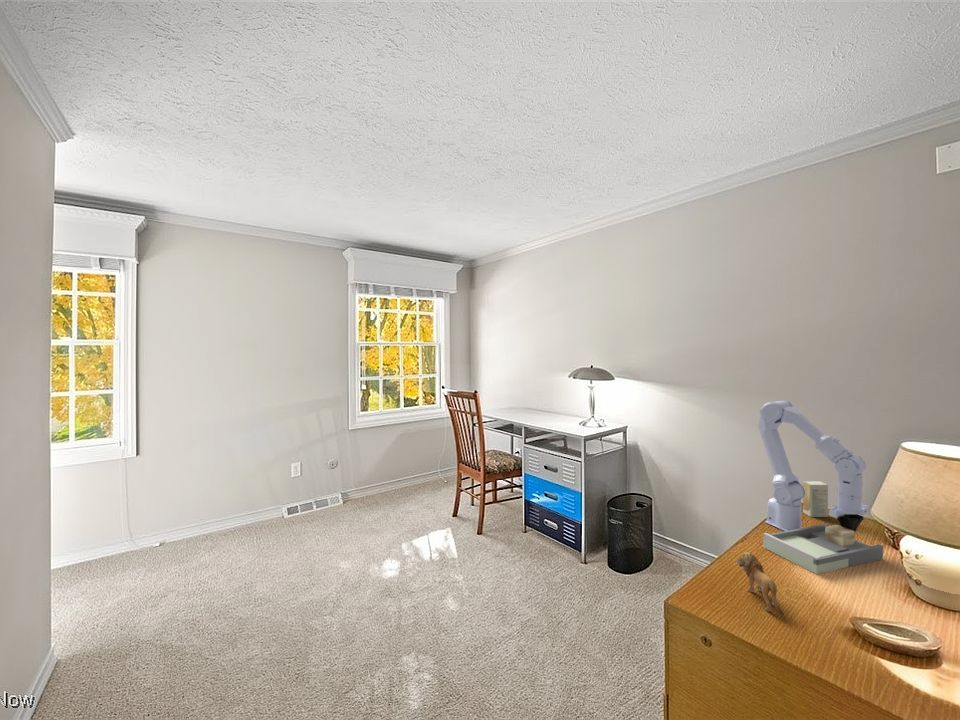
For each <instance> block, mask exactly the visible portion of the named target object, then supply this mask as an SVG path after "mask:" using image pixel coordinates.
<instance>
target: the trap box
mask: <svg viewBox="0 0 960 720" xmlns="http://www.w3.org/2000/svg"><path fill="white" fill-rule="evenodd" d="M826 526H830V525H829V524H827V523H822V524H817V525H815V524H814V525H811V526H805V527H804V528H799V529H793V530H788V531H784V530H781V531H777V532H772V533H767V532H763V535H762V536H763V539H762V542H763V543H762V546H763V547H762V548H764V549H766V550H768V551H770V552H772V553H773V554H776V555H778V556H779V557H781V558H784V559H786V560H788V561H790V562H792V563H794V564H796V565H797V566H800V567H802V568H804V569H806V570H808V571H810V572H811V573H813V574H815V575H818V574H823V573H828V572H831V571H836V570H840V569H845V568H850V567H853V566H857V565H858V566H859V565H862V564H867V563H872V562H876V561H881V560H884V545H882V544H874V545H869V544H867V543H864V542H861V541H859V540H857V539H854V544H852V545H847V546H840V545H838V544H836V543H833V542H831V541H828V540H826V539H825V527H826Z"/></svg>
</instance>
